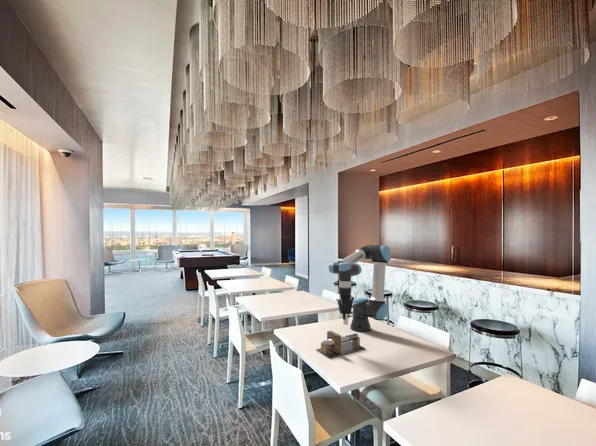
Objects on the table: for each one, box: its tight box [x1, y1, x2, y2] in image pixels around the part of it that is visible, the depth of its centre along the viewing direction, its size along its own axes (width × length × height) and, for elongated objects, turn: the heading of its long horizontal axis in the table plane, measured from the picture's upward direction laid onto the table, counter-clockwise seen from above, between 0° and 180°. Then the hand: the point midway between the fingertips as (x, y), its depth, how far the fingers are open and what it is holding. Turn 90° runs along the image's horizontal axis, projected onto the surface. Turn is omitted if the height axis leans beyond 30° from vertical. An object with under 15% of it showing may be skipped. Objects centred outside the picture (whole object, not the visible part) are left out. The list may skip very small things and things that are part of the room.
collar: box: [326, 330, 342, 353], centre depth 180 cm, size 3×10×10 cm, turn 31°
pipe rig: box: [315, 333, 366, 359], centre depth 183 cm, size 28×14×8 cm, turn 121°
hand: (345, 324), depth 186 cm, fingers closed
